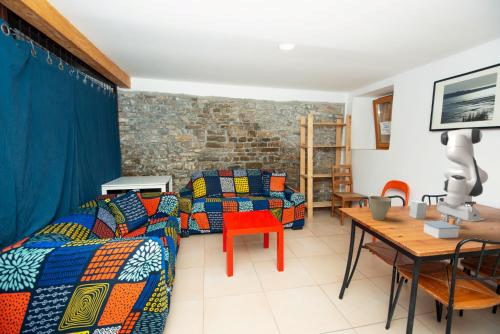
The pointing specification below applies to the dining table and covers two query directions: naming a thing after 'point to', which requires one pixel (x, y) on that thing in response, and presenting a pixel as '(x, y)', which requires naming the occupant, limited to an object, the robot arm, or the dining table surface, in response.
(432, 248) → the dining table surface
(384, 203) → the plant pot
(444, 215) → the teacup with lid
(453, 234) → the tub
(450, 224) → the lid
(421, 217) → the supplement box
